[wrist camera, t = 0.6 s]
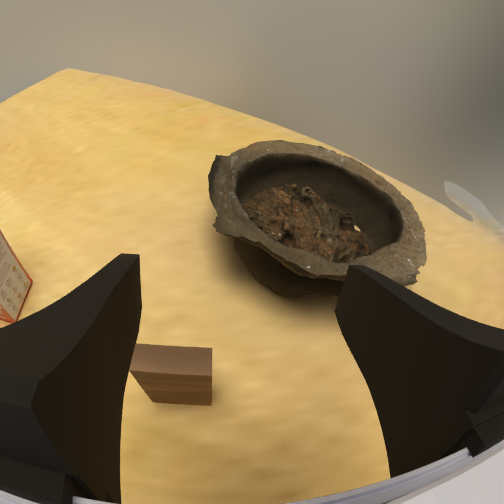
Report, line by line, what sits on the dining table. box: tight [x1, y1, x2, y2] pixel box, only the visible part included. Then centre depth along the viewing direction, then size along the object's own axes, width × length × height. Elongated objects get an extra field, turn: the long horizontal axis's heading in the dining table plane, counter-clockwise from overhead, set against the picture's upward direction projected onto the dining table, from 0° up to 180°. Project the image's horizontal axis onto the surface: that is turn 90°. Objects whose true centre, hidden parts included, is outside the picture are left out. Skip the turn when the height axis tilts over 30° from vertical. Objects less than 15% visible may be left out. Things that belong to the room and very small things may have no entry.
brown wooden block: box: [129, 343, 212, 406], centre depth 22 cm, size 2×5×9 cm, turn 92°
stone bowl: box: [208, 140, 427, 298], centre depth 35 cm, size 25×25×9 cm
